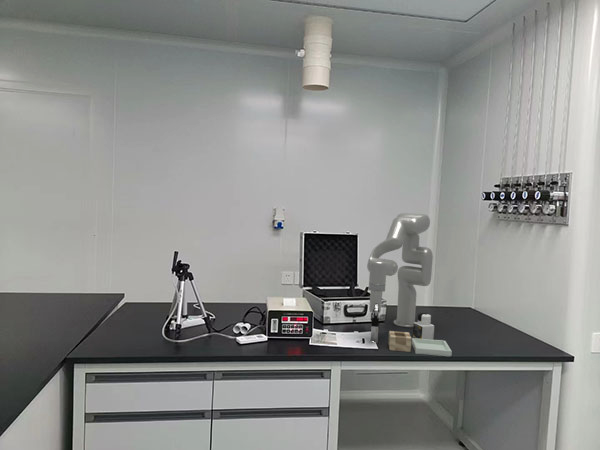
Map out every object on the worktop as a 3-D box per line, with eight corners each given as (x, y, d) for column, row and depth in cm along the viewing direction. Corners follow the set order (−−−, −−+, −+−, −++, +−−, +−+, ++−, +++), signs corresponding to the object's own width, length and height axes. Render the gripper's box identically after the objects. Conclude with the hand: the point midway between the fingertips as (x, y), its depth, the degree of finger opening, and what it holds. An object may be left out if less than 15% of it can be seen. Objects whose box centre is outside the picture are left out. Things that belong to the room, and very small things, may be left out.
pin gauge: (370, 340, 213) (371, 315, 212) (377, 340, 213) (378, 315, 212) (370, 342, 210) (372, 316, 209) (377, 342, 210) (379, 317, 209)
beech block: (388, 343, 209) (389, 330, 209) (408, 345, 208) (409, 332, 208) (389, 350, 200) (390, 336, 200) (410, 351, 199) (411, 338, 199)
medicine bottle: (412, 336, 222) (414, 312, 222) (424, 335, 225) (426, 311, 224) (421, 340, 216) (422, 316, 215) (433, 339, 218) (435, 315, 218)
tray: (411, 343, 212) (412, 338, 212) (444, 345, 210) (445, 340, 210) (415, 353, 197) (416, 348, 197) (451, 356, 195) (451, 351, 195)
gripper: (368, 283, 219) (366, 318, 219) (369, 289, 202) (366, 327, 202) (384, 284, 218) (381, 320, 218) (386, 291, 201) (383, 329, 201)
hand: (374, 323), depth 210 cm, fingers open, 9 cm apart
